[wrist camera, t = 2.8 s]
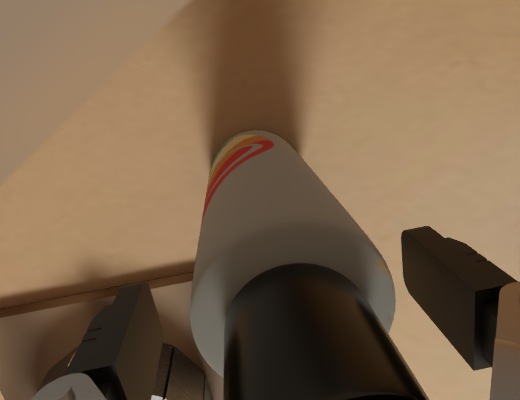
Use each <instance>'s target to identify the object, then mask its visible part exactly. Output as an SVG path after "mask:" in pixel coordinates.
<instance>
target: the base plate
mask: <svg viewBox="0 0 520 400" xmlns="http://www.w3.org/2000/svg"><path fill="white" fill-rule="evenodd" d="M193 274H194V272H191V273H186V274H180V275H175V276H170V277H165V278H160V279H154V280H149V281H144V282H147V283H148V285H149V287H150V290H151V293H152V296H153V300H154V303H155V306H156V309H157V313H158V316H159V319H160V322H161V326H162V332H163V343H166V344H170V345H173V347H172V348H174V347H177V348H178V349H179V350H180V351H181V352H182V353H184V354H185V355H186V356H187V357H188V358H189V359H191V360H192V361H193V362H194V363H195V364H196V365H198V366H199V367H200V368H201V369H202V370H203V371H205V373H206V376H207V379H208V383H209V387H210V390H211V394H212V398H213V400H223V385H224V378H223V377H222V376H220V375H219V374H218V373H217V372H216V371H215V370H213V369H212V368H211V366H210V365H209V364H208V363H207V362H206V361H205V359H204V358H203V356H202V355H201V353H200V351H199V349H198V347H197V345H196V342H195V340H194V337H193V333H192V328H191V321H190V299H191V289H192V281H193ZM139 283H141V282H139ZM134 284H136V283H134ZM128 285H131V284H128ZM123 286H126V285H123ZM120 287H121V286H118V287H113V288H108V289H102V290H97V291H92V292H87V293H82V294H76V295H71V296H66V297H61V298H55V299H50V300H45V301H40V302H35V303H29V304H24V305H19V306H14V307H9V308H3V309H0V391H1V393H2V395H3V397H4V399H5V400H31V399H32V398H33V396H34V395H35V393H36V391H37V389H38V388H39V386H40V384H41V383H42V381H43V379H44V378H45V376H46V374H47V372H48V371H49V369H51V368H52V367H53V366H54V365H55V364H57V363H58V362H59V361H60V360H62V359H63V358H64V357H65V356H66V355H68V354H69V353H70V352H71V351H73V350H74V349H75V348H76V347H77V346H79V345H80V343H82V339H83V337H84V335H85V333H87V329H88V327H89V325H90V323H91V321H92V319H93V318H94V317H95V316H96V315H97V314H98V313H99V312H100V311H101V310H102V309H103V308H104V307H105V306H108V305H112V304H113V302H114V300H115V297H116V295H117V293H118V291H119V289H120Z"/></svg>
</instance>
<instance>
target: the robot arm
mask: <svg viewBox="0 0 520 400" xmlns="http://www.w3.org/2000/svg"><path fill="white" fill-rule="evenodd" d="M401 243H402V262H403V277H404V282H405V285H406V287H407V290H408V292H409V293H410V295H411V296H412V297H413V298H414V299H415V301H416V302H417V303H418V304H419V305H420V307H421V308H422V309H423V310H424V311H425V313H426V314H427V315H428V316H429V318H430V319H431V320H432V321H433V322H434V324H435V325H436V326H437V327H438V328H439V330H440V331H441V332H442V333H443V334H444V336H445V337H446V338H447V339H448V340H449V342H450V343H451V344H452V345H453V346H454V348H455V349H456V350H457V351H458V352H459V354H460V355H461V356H462V357H463V358H464V360H465V361H466V362H467V363H468V364H469V366H470V367H471V368H472V369H473V370H479V369H484V368H488V367H492V379H491V391H490V400H520V282H518V281H516V280H515V279H514V278H512V277H511V276H510V275H508V274H507V273H505V272H504V271H503V270H501V269H500V268H498V267H497V266H496V265H494V264H493V263H492V262H490V261H487V259H486V258H485V257H483V256H482V255H481V254H477V252H476V251H475V250H474V249H472V248H471V247H470V246H468V245H467V244H465V243H463V242H460V241H457V240H454V239H452V238H444V237H442V236H441V235H440V234H439V233H437V232H436V231H435V230H433V229H432V228H431V227H429V226H424V227H419V228H414V229H409V230H404V231H403V232H402V235H401ZM162 344H163V332H162V326H161V322H160V319H159V316H158V313H157V309H156V306H155V303H154V300H153V296H152V293H151V290H150V287H149V285H148V283H147V282H141V283H136V284H131V285H126V286H121V287H120V289H119V291H118V293H117V295H116V297H115V300H114V302H113V304H112V305H108V306H105V307H104V308H103V309H102V310H101V311H100V312H99V313H98V314H97V315H96V316H95V317H94V318H93V319H92V321H91V323H90V325H89V327H88V329H87V333H85V335H84V337H83V339H82V343H80V345H79V347H78V349H77V351H76V353H75V355H74V356H73V358H72V360H71V362H70V364H69V366H68V368H67V370H66V372H65V374H64V376H63V377H60V378H58V379H56V380H54V381H52V382H50V383H49V384H47V385H46V386H44V387H43V388H42V389H41V390H39V391H38V392H37V393H36V394H35V395H34V396H33V398H32V399H31V400H151V397H152V392H153V388H154V383H155V378H156V373H157V368H158V364H159V359H160V354H161V349H162Z"/></svg>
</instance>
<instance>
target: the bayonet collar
mask: <svg viewBox="0 0 520 400" xmlns="http://www.w3.org/2000/svg"><path fill="white" fill-rule="evenodd" d="M78 347H79V346H77V347H76V348H75V349H74V350H73V351H71V352H70V353H69V354H68V355H66V356H65V357H64V358H63V359H62V360H60V361H59V362H58V363H57V364H55V365H54V366H53V367H52V368H51V369H49V371H48V372H47V374H46V376H45V378H44V379H43V381H42V383H41V384H40V386H39V388H38V389H37V391H36V393H37V392H38V391H39V390H41V389H42V388H43V387H44V386H46V385H47V384H49V383H50V382H52V381H54V380H56V379H58V378H60V377H63V376H64V374H65V372H66V370H67V368H68V366H69V364H70V362H71V360H72V358H73V356H74V355H75V353H76V351H77V349H78ZM172 347H173V345H170V344H166V343H163V344H162V349H161V354H160V359H159V364H158V368H157V373H156V378H155V383H154V388H153V392H152V397H151V400H213V398H212V394H211V390H210V387H209V383H208V379H207V376H206V373H205V371H203V370H202V369H201V368H200V367H199V366H198V365H196V364H195V363H194V362H193V361H192V360H191V359H189V358H188V357H187V356H186V355H185V354H184V353H182V352H181V351H180V350H179V349H178V348H177V347H174V348H172ZM36 393H35V394H36Z"/></svg>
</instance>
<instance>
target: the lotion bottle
mask: <svg viewBox="0 0 520 400" xmlns="http://www.w3.org/2000/svg"><path fill="white" fill-rule="evenodd" d="M395 302H396V300H395V289H394V283H393V280H392V276H391V274H390V271H389V269H388V266H387V264H386V262H385V260H384V259H383V257H382V255H381V254H380V252H379V251H378V250H377V248H376V247H375V245H374V244H373V243H372V241H371V240H370V239H369V238H368V236H367V235H366V234H365V233H364V231H363V230H362V229H361V228H360V226H359V225H358V224H357V223H356V222H355V220H354V219H353V218H352V217H351V216H350V214H349V213H348V212H347V211H346V210H345V209H344V207H343V206H342V205H341V204H340V203H339V201H338V200H337V199H336V198H335V197H334V196H333V194H332V193H331V192H330V191H329V190H328V188H327V187H326V186H325V185H324V184H323V182H322V181H321V180H320V179H319V178H318V177H317V175H316V174H315V173H314V172H313V171H312V169H311V168H310V167H309V166H308V165H307V163H306V162H305V161H304V160H303V159H302V158H301V156H300V155H299V154H298V153H297V152H296V151H295V149H294V148H293V147H292V146H291V145H290V144H289V143H288V142H287V141H285V140H284V139H283V138H281V137H279V136H278V135H276V134H273V133H271V132H267V131H262V130H251V131H245V132H242V133H239V134H237V135H235V136H233V137H231V138H230V139H229V140H227V141H226V142H225V143H224V144H223V145H222V146H221V147H220V149H219V150H218V151H217V153H216V155H215V157H214V159H213V162H212V165H211V169H210V174H209V180H208V186H207V192H206V199H205V205H204V211H203V217H202V224H201V230H200V236H199V242H198V249H197V255H196V261H195V268H194V274H193V281H192V289H191V299H190V321H191V328H192V333H193V337H194V340H195V342H196V345H197V347H198V349H199V351H200V353H201V355H202V356H203V358H204V359H205V361H206V362H207V363H208V364H209V365H210V366H211V368H212V369H213V370H215V371H216V372H217V373H218V374H219V375H220V376H222V377H223V378H224V385H223V400H429V398H428V397H427V395H426V393H425V392H424V390H423V389H422V387H421V385H420V384H419V382H418V381H417V379H416V377H415V376H414V374H413V373H412V371H411V369H410V368H409V366H408V365H407V363H406V361H405V360H404V358H403V357H402V355H401V353H400V352H399V350H398V349H397V347H396V346H395V344H394V342H393V341H392V339H391V338H390V336H389V334H388V333H389V331H390V328H391V325H392V322H393V318H394V312H395Z"/></svg>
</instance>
